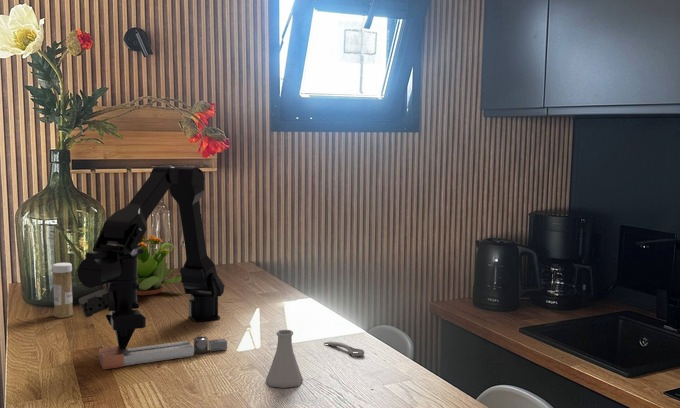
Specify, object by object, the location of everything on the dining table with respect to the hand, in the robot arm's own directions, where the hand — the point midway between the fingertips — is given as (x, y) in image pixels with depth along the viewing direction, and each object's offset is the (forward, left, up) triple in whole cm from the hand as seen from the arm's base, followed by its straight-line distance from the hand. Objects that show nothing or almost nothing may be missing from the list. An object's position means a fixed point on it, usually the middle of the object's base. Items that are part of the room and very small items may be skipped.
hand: (122, 350), depth 140 cm
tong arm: (-6, +3, -1) cm, 7 cm away
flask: (-26, +27, -2) cm, 37 cm away
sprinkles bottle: (+8, -37, -2) cm, 38 cm away
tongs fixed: (-8, +4, -1) cm, 10 cm away
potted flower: (-16, -53, -2) cm, 56 cm away
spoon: (-45, +15, -2) cm, 47 cm away
